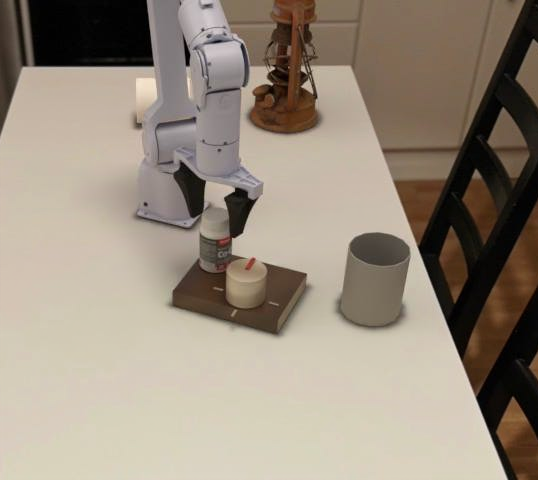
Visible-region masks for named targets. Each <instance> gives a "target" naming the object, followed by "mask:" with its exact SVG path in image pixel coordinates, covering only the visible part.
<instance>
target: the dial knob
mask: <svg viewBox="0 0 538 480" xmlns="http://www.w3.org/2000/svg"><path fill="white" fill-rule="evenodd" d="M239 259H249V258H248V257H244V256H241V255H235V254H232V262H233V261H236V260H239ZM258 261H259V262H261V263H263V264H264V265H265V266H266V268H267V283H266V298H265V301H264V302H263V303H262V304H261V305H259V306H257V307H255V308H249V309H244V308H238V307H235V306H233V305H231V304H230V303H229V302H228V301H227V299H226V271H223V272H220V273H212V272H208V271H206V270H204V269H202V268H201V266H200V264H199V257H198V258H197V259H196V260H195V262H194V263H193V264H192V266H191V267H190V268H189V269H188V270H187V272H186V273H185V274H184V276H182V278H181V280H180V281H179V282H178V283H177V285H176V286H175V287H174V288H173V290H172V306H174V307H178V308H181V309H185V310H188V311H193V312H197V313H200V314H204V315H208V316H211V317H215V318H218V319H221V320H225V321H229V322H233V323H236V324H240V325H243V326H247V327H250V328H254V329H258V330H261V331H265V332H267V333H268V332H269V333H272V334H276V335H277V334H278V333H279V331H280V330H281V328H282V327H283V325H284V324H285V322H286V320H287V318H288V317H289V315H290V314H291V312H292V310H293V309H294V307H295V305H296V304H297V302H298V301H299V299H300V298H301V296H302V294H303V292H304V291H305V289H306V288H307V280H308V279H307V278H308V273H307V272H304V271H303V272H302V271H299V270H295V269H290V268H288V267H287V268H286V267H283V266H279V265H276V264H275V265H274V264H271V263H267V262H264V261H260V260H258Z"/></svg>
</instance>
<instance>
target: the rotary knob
mask: <svg viewBox="0 0 538 480" xmlns="http://www.w3.org/2000/svg"><path fill="white" fill-rule="evenodd" d="M259 261H260V260H257V258H256V257H251V258H248V259H239V260H236V261H233V262H231V263H230V264H229V265H228V267H227V270H226V299H227V301H228V302H229V303H230V304H231V305H233V306H235V307H238V308H244V309H249V308H255V307H257V306H259V305H261V304H262V303H263V302H264V301H265V298H266V283H267V268H266V266H265V265H264V264H263V263H261V262H262V261H260V262H259Z"/></svg>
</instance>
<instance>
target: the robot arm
mask: <svg viewBox="0 0 538 480" xmlns="http://www.w3.org/2000/svg"><path fill="white" fill-rule="evenodd" d="M146 5H147V14H148V24H149V31H150V32H149V33H150V42H151V51H152V60H153V68H154V69H153V70H154V78H155V79H156V88H157V97H158V98H157V100H156V101H155V102H154V103H153V104H152V105H151V106H150V107H149V108H148V109H147V110H146V111H145V113H144V114H143V116H142V117H143V118H142V123H141V128H142V130H141V145H142V151H143V154H144V158H143V159H142V161H141V162H140V165H139V169H138V173H137V187H138V188H137V191H138V211H137V212H136V213H137V216H138V217H141V218H146V219H149V220H154V221H157V222H161V223H166V224H170V225H174V226H178V227H182V228H185V229H190V228H191V227H192V226H193V225H194V224H195V223H196V221H198V219H199V218H201V216H202V213H203V212H204V211H205V210H206V209H208V207H209V205H210V203H209V202H208V201H206V200H205V196H206V195H205V193H206V186H207V185H206V184H207V182H210V183H214V184H219V185H224V186H229V187H231V188H233V189H234V191H233V192H231V193H228V194H227V195H225V196H223V201H224V203H225V206H226V210H227V211H228V214H229V233H230V237H232V239H236V238H238V237H239V236H241V235H243V234H244V231H245V228H246V224H247V221H248V218H249V216H250V214H251V212H252V210H253V208H254V206H255V205H256V203H257V201H258V200H259V198H260V197H261V196H263V194H264V181H263V180H262V179H259V178H257V177H256V176H255V175H253V173H251V172H250V171H249V170H248V169H247V168H246V167H244V165H242V164H241V163H242V157H241V156H240V140H241V139H240V138H241V137H240V136H241V115H242V114H241V113H242V110H241V109H242V88H247V86H248V85H249V82H250V78H251V77H250V76H251V65H250V57H249V56H250V55H249V52H248V49H247V45H246V43H245V41H244V40H243V38H240V37H239V36H238V34H237V33H233V32H232V30H231V28H230V25H229V22H228V20H227V17H226V14H225V12H224V9H223V6H222V4H221V1H220V0H146ZM184 40H185V41H184ZM185 42H186V46H187V49H188V51H189V54H190V57H189V73H190V80H191V85H192V96H193V97H192V98H193V99H192V98H191V99H190V98H189V94H188V84H187V77H188V75H187V65H186V54H185V53H186V52H185ZM187 117H191V118H190V119H183V120H176V121H169V122H162V121H166V120H173V119H180V118H187ZM160 122H162V123H160Z"/></svg>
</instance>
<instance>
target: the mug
mask: <svg viewBox="0 0 538 480" xmlns="http://www.w3.org/2000/svg"><path fill="white" fill-rule="evenodd" d="M187 84H188V94H189V98H190V99H192V94H191V93H192V92H191V91H192V89H191V87H192V86H191V77H189V76H187ZM157 98H158V97H157V88H156V79H155V77H136V78H135V108H136V110H135V111H136V122H137V124H142V118H143V117H142V116H143V114H144V113H145V111H146V110H147V109H148V108H149V107H150V106H151V105H152V104H153V103H154V102H155V101H156V100H157ZM190 118H192V117H187V118H180V119H173V120H166V121H162V122H169V121H176V120H183V119H190ZM162 122H160V123H162Z"/></svg>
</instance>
